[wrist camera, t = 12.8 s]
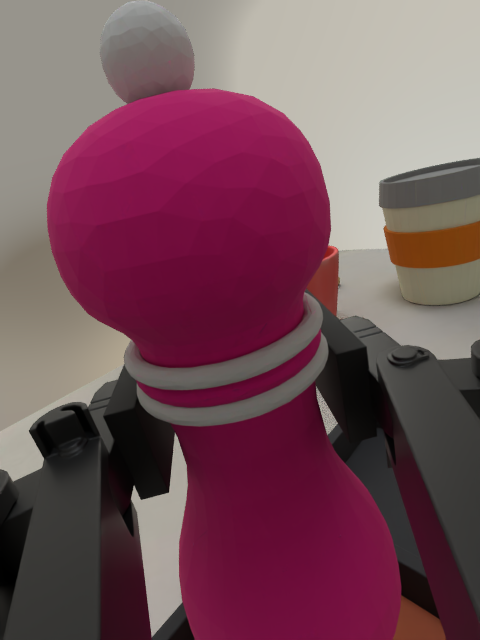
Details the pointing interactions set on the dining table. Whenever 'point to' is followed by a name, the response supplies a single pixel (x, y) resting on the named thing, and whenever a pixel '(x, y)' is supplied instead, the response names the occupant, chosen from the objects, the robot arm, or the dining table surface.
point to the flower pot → (327, 280)
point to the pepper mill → (224, 337)
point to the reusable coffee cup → (435, 231)
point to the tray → (416, 597)
